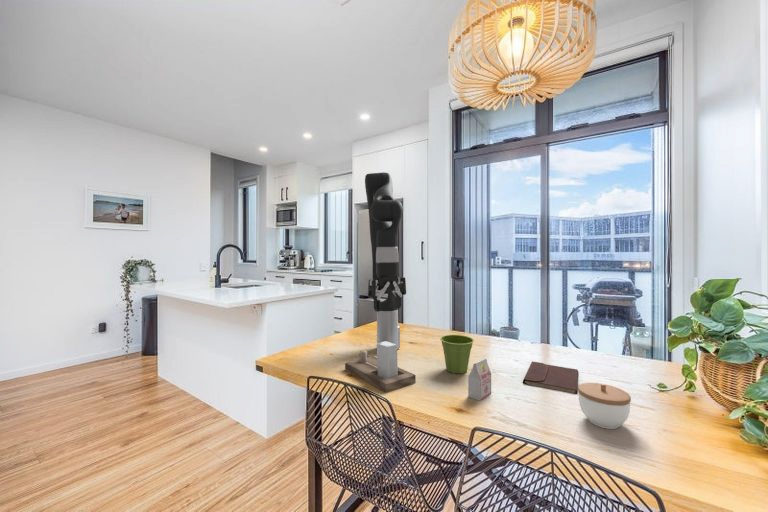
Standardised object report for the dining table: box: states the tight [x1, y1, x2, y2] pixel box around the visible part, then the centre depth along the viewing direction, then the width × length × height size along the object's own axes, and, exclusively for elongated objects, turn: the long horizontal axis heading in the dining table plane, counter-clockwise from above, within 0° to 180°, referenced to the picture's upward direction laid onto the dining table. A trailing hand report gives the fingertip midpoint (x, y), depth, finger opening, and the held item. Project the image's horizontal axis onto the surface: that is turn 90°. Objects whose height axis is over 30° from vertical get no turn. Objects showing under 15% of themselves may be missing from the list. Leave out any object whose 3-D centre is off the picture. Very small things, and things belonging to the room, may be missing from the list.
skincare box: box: [376, 341, 399, 379], centre depth 106 cm, size 6×4×12 cm
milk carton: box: [467, 358, 492, 401], centre depth 95 cm, size 4×7×10 cm, turn 135°
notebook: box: [522, 361, 579, 395], centre depth 108 cm, size 15×20×2 cm
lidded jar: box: [577, 382, 632, 430], centre depth 79 cm, size 11×11×9 cm
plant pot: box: [439, 334, 475, 374], centre depth 115 cm, size 12×12×11 cm
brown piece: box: [344, 350, 417, 393], centre depth 110 cm, size 12×24×6 cm, turn 37°
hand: (387, 309), depth 107 cm, fingers open, 8 cm apart
